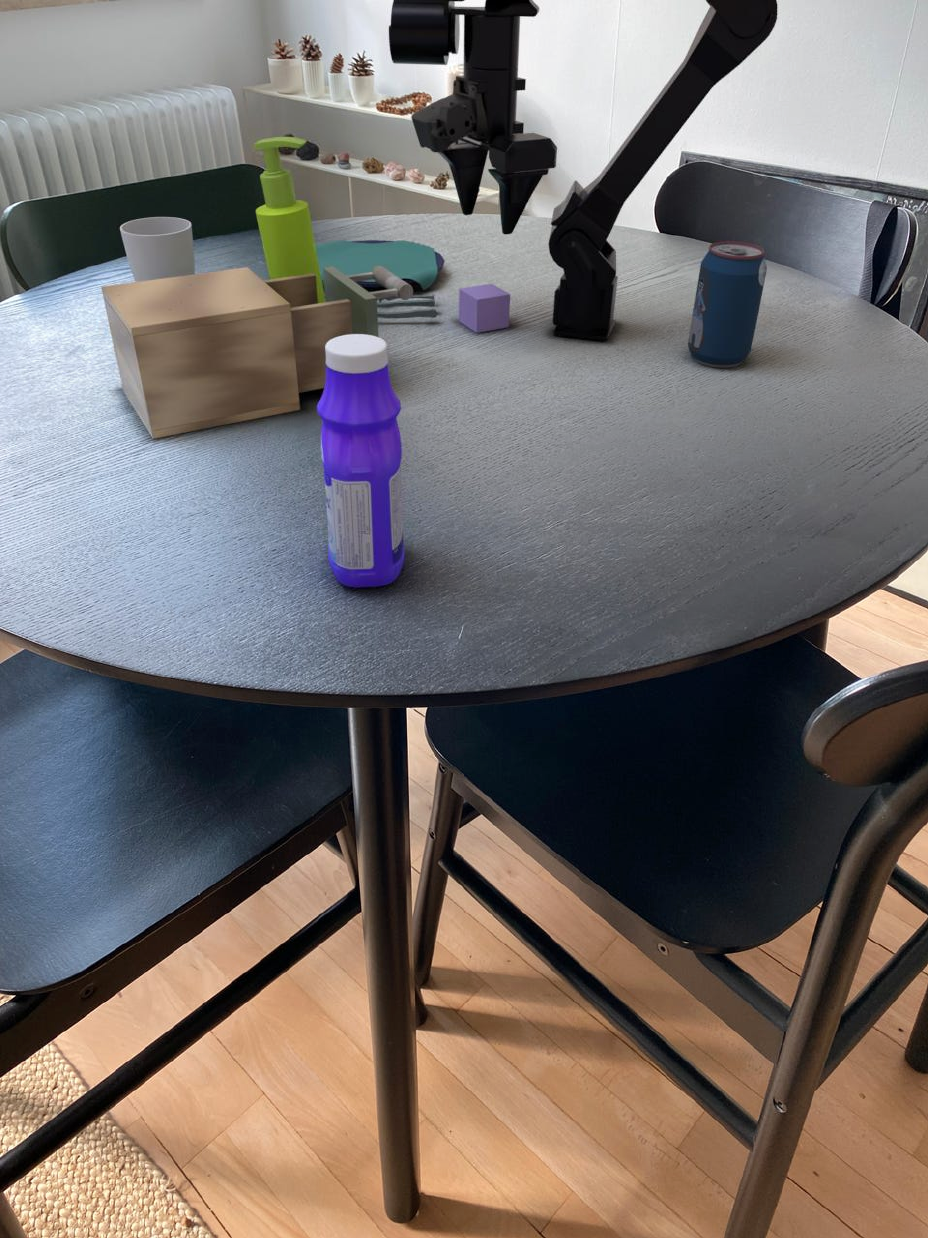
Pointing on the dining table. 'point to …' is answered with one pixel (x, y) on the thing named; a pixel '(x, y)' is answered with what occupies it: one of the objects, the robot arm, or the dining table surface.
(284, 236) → the soap dispenser
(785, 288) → the dining table surface
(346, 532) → the bottle
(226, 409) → the wooden drawer box
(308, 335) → the drawer with grey handle
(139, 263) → the cup
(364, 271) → the cutlery set
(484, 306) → the lavender cube block
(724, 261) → the soda can
